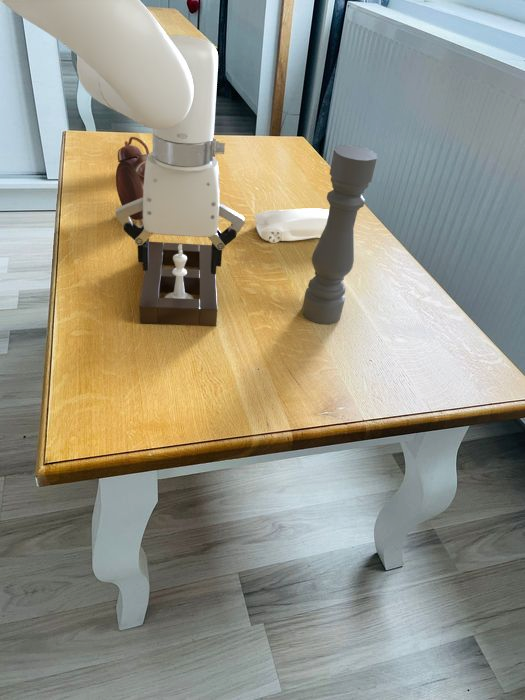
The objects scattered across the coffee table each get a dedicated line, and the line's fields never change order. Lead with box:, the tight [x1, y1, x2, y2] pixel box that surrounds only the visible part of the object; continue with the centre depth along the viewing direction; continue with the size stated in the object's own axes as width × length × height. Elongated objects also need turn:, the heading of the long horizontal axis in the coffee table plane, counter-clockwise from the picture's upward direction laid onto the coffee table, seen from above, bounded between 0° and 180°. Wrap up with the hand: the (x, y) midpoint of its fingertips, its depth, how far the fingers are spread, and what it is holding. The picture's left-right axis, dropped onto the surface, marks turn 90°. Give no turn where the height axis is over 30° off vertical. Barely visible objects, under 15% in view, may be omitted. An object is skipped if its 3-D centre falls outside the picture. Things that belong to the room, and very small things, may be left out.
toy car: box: [254, 207, 329, 244], centre depth 106 cm, size 18×8×4 cm, turn 102°
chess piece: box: [163, 243, 195, 299], centre depth 81 cm, size 5×5×10 cm
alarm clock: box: [115, 136, 150, 227], centre depth 100 cm, size 11×5×15 cm, turn 40°
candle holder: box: [301, 144, 378, 325], centre depth 79 cm, size 6×6×25 cm
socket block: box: [138, 241, 218, 327], centre depth 86 cm, size 11×19×3 cm, turn 5°
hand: (179, 268), depth 80 cm, fingers open, 9 cm apart
